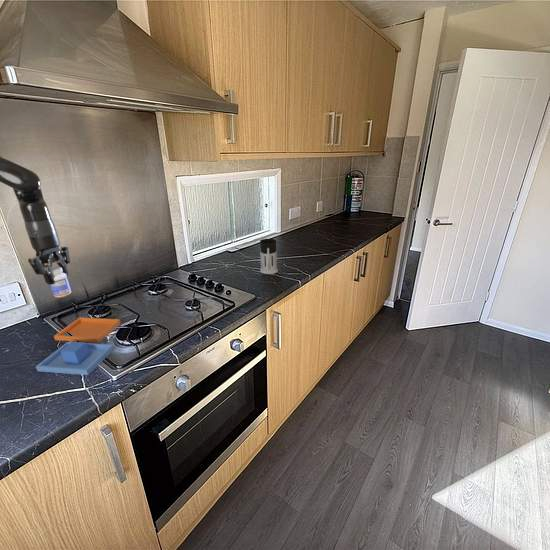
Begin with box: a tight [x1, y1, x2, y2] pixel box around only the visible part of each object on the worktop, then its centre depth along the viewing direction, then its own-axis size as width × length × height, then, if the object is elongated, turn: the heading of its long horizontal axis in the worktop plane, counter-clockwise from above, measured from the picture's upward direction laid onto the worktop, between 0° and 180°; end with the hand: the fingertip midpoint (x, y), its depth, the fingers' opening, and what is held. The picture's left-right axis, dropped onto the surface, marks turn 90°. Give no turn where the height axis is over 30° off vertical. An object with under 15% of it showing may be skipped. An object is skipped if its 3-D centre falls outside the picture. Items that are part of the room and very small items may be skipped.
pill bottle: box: [49, 266, 72, 298], centre depth 102 cm, size 5×5×10 cm
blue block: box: [60, 341, 90, 365], centre depth 83 cm, size 4×4×4 cm
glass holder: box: [259, 238, 279, 275], centre depth 137 cm, size 9×14×15 cm, turn 1°
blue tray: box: [35, 341, 115, 376], centre depth 83 cm, size 15×11×2 cm
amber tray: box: [53, 317, 121, 344], centre depth 97 cm, size 15×11×2 cm
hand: (58, 280), depth 102 cm, fingers closed on pill bottle, 5 cm apart
